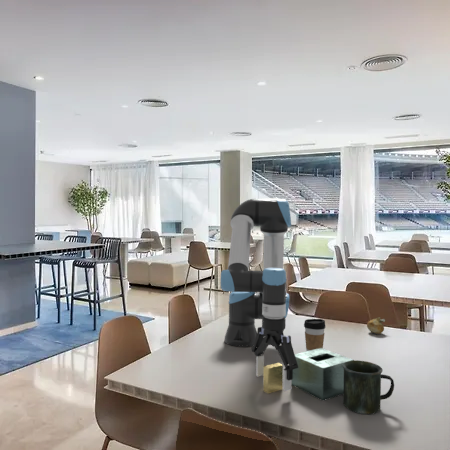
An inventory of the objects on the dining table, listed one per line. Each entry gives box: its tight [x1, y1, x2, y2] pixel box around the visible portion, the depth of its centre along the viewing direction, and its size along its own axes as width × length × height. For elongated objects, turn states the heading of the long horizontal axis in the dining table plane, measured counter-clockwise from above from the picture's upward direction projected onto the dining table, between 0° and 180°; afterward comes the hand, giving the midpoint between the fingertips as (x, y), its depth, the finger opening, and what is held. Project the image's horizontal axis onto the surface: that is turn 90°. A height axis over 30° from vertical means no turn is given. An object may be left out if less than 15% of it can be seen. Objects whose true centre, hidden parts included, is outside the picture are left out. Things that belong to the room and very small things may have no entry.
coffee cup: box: [303, 318, 326, 352], centre depth 160 cm, size 8×8×15 cm
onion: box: [366, 316, 386, 335], centre depth 196 cm, size 8×8×8 cm
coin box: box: [291, 347, 354, 401], centre depth 132 cm, size 14×14×10 cm
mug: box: [342, 359, 395, 415], centre depth 118 cm, size 11×15×12 cm
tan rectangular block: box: [262, 362, 284, 394], centre depth 129 cm, size 2×6×8 cm, turn 123°
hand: (273, 382), depth 129 cm, fingers open, 13 cm apart
